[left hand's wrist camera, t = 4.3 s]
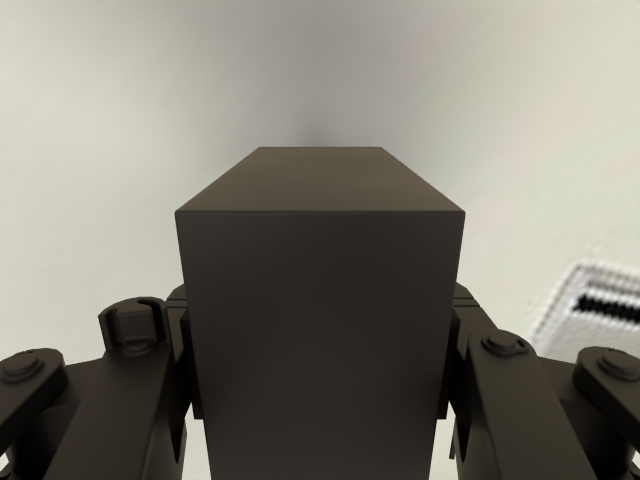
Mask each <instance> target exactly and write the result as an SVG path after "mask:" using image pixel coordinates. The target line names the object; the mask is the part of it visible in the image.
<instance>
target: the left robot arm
mask: <svg viewBox="0 0 640 480" xmlns="http://www.w3.org/2000/svg"><path fill="white" fill-rule="evenodd" d="M98 319H99V323H100V327H101V331H102V336H103V340H104V344H105V348H106V351H105V353H104V355H103V357H102V358H100V359H96V360H92V361H86V362H81V363H76V364H71V365H66V366H65V362H64V359H63V355H62V353H60V352H59V351H58V350H56V349H50V348H41V349H31V350H26V351H25V352H24V351H23V352H19V353H16V354H15V355H13V356H11V357H9V358H6V359H4V360H2V361H0V457H1V456H2V455H3V454H4V453H6V456H7V458H8V461H9V463H8V464H7V465H6V466H5V467H4V468H3V470H1V471H0V480H181V479H182V471H183V463H184V455H185V447H186V438H187V430H186V423H185V416H186V413H187V411H188V408H189V406H190V404H191V401H192V408H193V415H194V419H203V415H202V408H201V401H200V394H199V386H198V379H197V372H196V365H195V358H194V350H193V343H192V336H191V329H190V322H189V314H188V307H187V300H186V293H185V286H184V284H182V285H181V286H179V287H177V288H176V289H174V290H173V291H172V293H171V294H170V295H169V297H168V298H167V301H165V302H164V301H163V300H162V299H160V298H155V297H136V298H131V299H126V300H123V301H120V302H117V303H115V304H113V305H111V306H109V307H108V308H106V309H104V310H103V311H102V312H101V313H100V314H99V315H98ZM449 401H450V404H451V406H452V408H453V411H454V413H455V415H456V417H455V423H454V430H453V436H452V442H451V448H450V455H449V459H453V460H454V457H455V454H456V462H457V470H458V479H459V480H640V469H639V468H638V467H637V466H636V465H635V464H634V462H633V461H632V459H633V457H634V454H635V452H636V451H637V452H638V453H639V454H640V359H639V358H636V357H634V356H632V355H629V354H627V353H626V352H624V351H621V350H618V349H617V350H615V349H614V348H609V347H597V346H593V347H587V348H583V349H582V350H581V351H580V352H579V353H578V356H577V360H576V363H575V364H573V363H568V362H563V361H557V360H552V359H547V358H543V357H539V356H537V354H536V352H535V350H534V349H533V347H532V346H531V345H530V344H529V343H528V342H527V341H526V340H524V339H523V338H521V337H520V336H518V335H516V334H513V333H511V332H508V331H505V330H500V329H498V328H497V327H496V325H495V324H494V323H493V322H492V320H491V319H490V318H489V316H488V315H487V314H486V313H485V311H484V310H483V309H482V307H480V305H479V304H478V302H477V301H476V300H475V299H474V297H473V296H472V295H471V293H470V292H469V291H468V289H467V288H465V287H464V286H462V285H460V284H459V283H457V282H456V286H455V294H454V301H453V308H452V315H451V322H450V330H449V337H448V344H447V351H446V358H445V366H444V373H443V380H442V387H441V394H440V402H439V409H438V416H437V419H446V417H447V410H448V403H449Z"/></svg>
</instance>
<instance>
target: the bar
mask: <svg viewBox="0 0 640 480" xmlns="http://www.w3.org/2000/svg"><path fill="white" fill-rule="evenodd" d="M175 221H176V228H177V235H178V242H179V249H180V257H181V264H182V271H183V278H184V286H185V293H186V300H187V307H188V314H189V322H190V329H191V336H192V343H193V350H194V358H195V365H196V372H197V379H198V386H199V394H200V401H201V408H202V415H203V422H204V430H205V437H206V444H207V451H208V459H209V466H210V473H211V480H429V474H430V466H431V459H432V452H433V445H434V438H435V430H436V423H437V416H438V409H439V402H440V394H441V387H442V380H443V373H444V366H445V358H446V351H447V344H448V337H449V330H450V322H451V315H452V308H453V301H454V294H455V286H456V279H457V272H458V265H459V258H460V250H461V243H462V236H463V229H464V222H465V211H464V210H462V209H461V208H460V207H459V206H457V205H456V204H455V203H453V202H452V201H451V200H449V199H448V198H447V197H446V196H444V195H443V194H442V193H440V192H439V191H438V190H436V189H435V188H434V187H433V186H431V185H430V184H429V183H427V182H426V181H425V180H423V179H422V178H421V177H420V176H418V175H417V174H416V173H414V172H413V171H412V170H410V169H409V168H408V167H407V166H405V165H404V164H403V163H401V162H400V161H399V160H397V159H396V158H395V157H393V156H392V155H391V154H390V153H388V152H387V151H386V150H384V149H383V148H382V147H259V148H257V149H256V150H255V151H253V152H252V153H251V154H249V155H248V156H247V157H246V158H244V159H243V160H242V161H240V162H239V163H238V164H236V165H235V166H234V167H233V168H231V169H230V170H229V171H227V172H226V173H225V174H223V175H222V176H221V177H219V178H218V179H217V180H216V181H214V182H213V183H212V184H210V185H209V186H208V187H206V188H205V189H204V190H202V191H201V192H200V193H199V194H197V195H196V196H195V197H193V198H192V199H191V200H189V201H188V202H187V203H185V204H184V205H183V206H182V207H180V208H179V209H178V210H176V211H175Z"/></svg>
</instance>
